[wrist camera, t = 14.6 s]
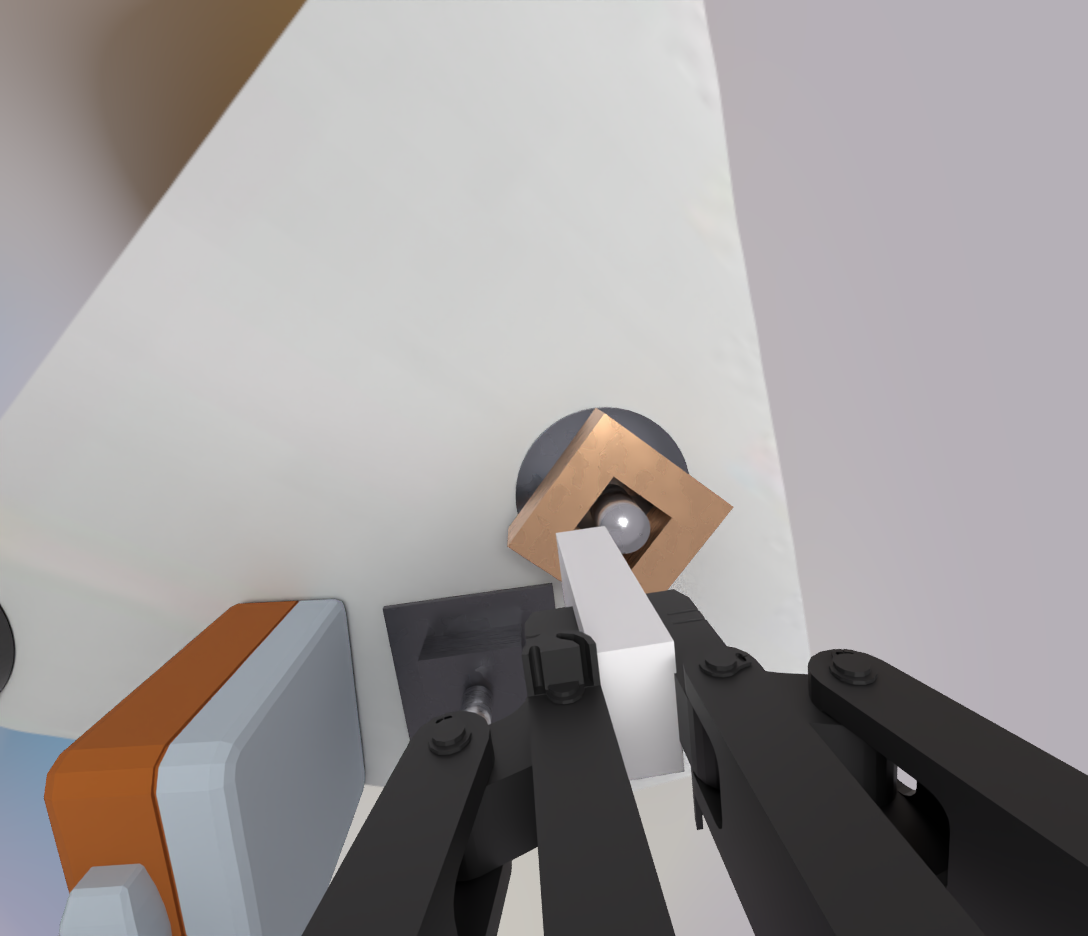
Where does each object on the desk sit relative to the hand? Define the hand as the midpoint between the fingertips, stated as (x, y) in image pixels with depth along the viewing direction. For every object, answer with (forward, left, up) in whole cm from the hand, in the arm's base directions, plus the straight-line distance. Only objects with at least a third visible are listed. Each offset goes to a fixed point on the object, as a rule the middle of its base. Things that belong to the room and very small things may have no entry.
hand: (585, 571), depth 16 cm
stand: (-8, -19, -26) cm, 33 cm away
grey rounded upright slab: (-23, -19, -26) cm, 39 cm away
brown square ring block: (+4, -5, -23) cm, 24 cm away
